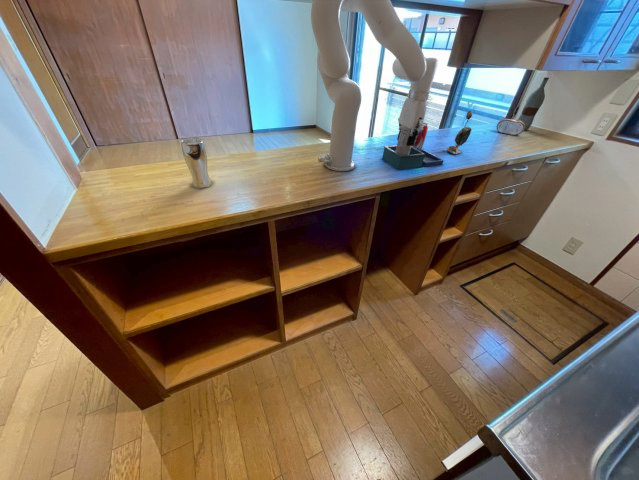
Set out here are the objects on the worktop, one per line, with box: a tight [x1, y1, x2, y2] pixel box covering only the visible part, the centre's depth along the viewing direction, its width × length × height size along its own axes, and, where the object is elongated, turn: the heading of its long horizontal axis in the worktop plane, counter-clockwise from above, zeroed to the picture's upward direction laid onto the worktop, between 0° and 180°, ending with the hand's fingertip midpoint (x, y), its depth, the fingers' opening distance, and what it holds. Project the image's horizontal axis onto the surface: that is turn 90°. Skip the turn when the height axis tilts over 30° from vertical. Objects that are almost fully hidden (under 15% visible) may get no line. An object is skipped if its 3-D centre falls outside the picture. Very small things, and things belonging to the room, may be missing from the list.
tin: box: [496, 118, 525, 136], centre depth 164 cm, size 15×3×8 cm, turn 58°
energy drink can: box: [395, 125, 416, 156], centre depth 112 cm, size 6×6×15 cm
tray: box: [419, 149, 445, 168], centre depth 122 cm, size 10×14×2 cm
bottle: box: [516, 76, 550, 132], centre depth 169 cm, size 9×9×30 cm
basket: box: [381, 144, 426, 171], centre depth 117 cm, size 13×13×6 cm
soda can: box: [412, 122, 429, 150], centre depth 132 cm, size 7×7×12 cm
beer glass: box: [180, 137, 212, 189], centre depth 88 cm, size 7×7×15 cm
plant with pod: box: [445, 110, 474, 155], centre depth 128 cm, size 8×11×20 cm
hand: (405, 142), depth 113 cm, fingers closed on energy drink can, 6 cm apart
